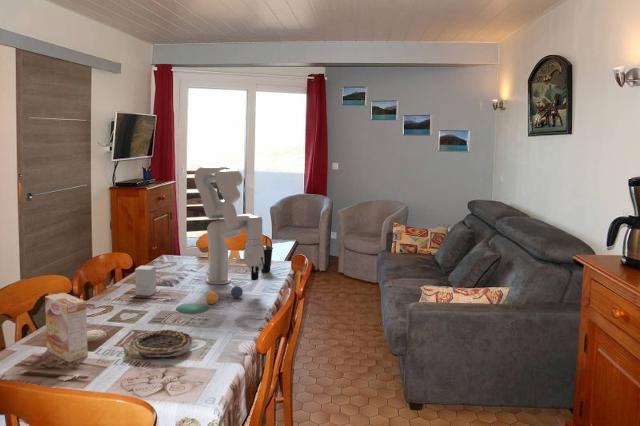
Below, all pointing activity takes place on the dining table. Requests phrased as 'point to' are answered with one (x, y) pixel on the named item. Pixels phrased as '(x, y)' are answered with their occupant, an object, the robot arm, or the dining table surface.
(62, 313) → the coffeecake box
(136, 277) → the supplement box
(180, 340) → the woven basket
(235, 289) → the dark blue ball
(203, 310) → the green mark
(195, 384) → the dining table surface
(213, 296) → the orange ball
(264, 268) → the drinking cup
